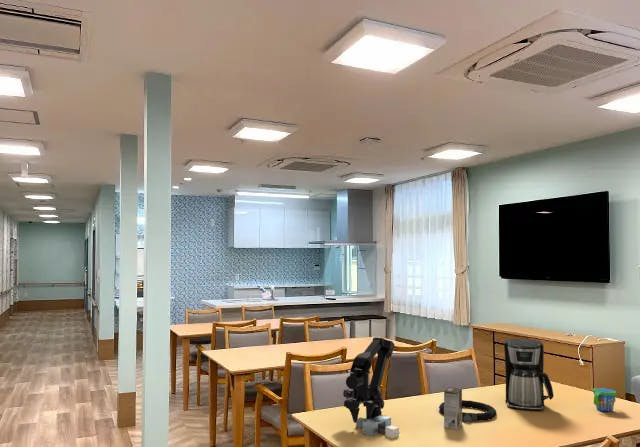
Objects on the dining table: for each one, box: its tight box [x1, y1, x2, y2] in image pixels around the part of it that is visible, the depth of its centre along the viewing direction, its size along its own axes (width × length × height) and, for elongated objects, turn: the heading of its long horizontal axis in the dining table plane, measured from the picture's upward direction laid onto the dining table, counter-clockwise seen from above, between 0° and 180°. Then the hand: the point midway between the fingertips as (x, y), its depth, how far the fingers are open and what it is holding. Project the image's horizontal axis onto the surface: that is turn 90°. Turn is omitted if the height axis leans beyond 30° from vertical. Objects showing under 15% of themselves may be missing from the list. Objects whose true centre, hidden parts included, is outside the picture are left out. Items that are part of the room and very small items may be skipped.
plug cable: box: [355, 417, 401, 439], centre depth 233 cm, size 22×4×4 cm, turn 47°
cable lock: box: [438, 399, 498, 423], centre depth 264 cm, size 28×4×30 cm
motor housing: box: [361, 414, 392, 437], centre depth 233 cm, size 5×14×5 cm, turn 137°
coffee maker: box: [503, 338, 554, 411], centre depth 288 cm, size 23×32×34 cm
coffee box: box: [443, 386, 463, 430], centre depth 244 cm, size 9×6×16 cm
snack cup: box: [592, 387, 617, 413], centre depth 276 cm, size 16×10×10 cm
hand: (361, 420), depth 239 cm, fingers open, 9 cm apart
